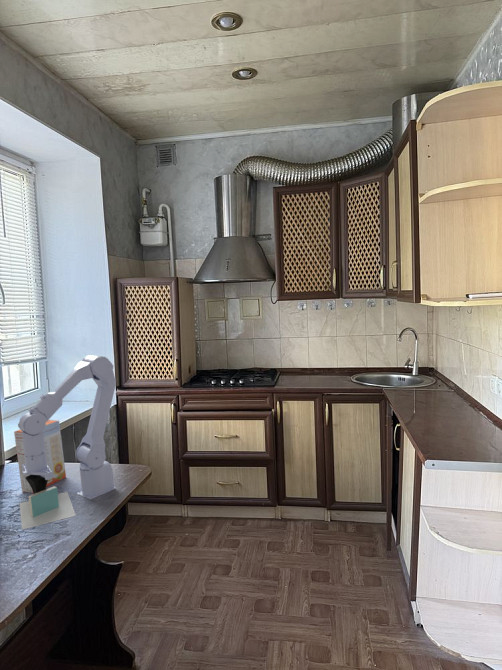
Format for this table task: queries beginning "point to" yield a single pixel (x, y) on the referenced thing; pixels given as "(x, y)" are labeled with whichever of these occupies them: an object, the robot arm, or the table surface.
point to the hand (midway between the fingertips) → (40, 497)
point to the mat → (50, 516)
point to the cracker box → (52, 454)
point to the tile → (43, 501)
